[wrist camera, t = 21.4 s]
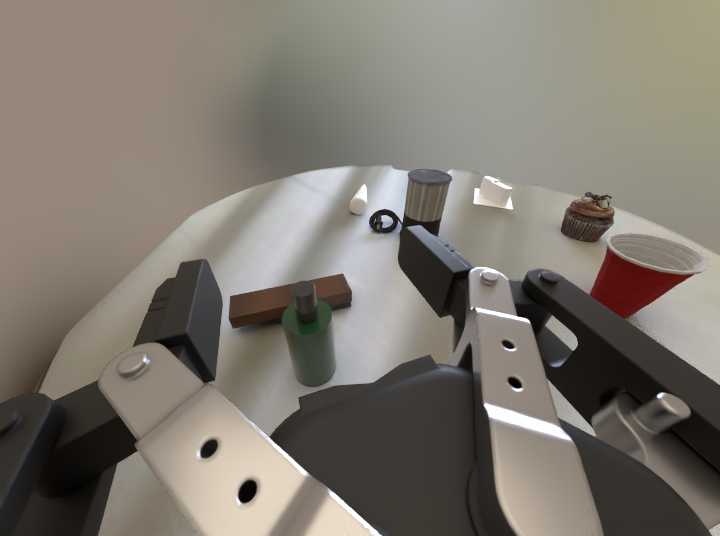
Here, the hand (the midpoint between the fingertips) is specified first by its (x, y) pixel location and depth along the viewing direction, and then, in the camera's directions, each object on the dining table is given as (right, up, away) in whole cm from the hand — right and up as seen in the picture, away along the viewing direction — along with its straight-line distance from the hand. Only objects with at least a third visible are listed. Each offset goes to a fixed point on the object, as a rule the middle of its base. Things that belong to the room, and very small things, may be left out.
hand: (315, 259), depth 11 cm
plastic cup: (+45, -7, +33) cm, 56 cm away
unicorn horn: (+2, +21, +69) cm, 72 cm away
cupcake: (+58, +8, +54) cm, 80 cm away
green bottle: (-4, -14, +23) cm, 27 cm away
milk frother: (+13, +8, +53) cm, 55 cm away
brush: (-8, -7, +31) cm, 33 cm away
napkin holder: (+45, +22, +73) cm, 88 cm away
